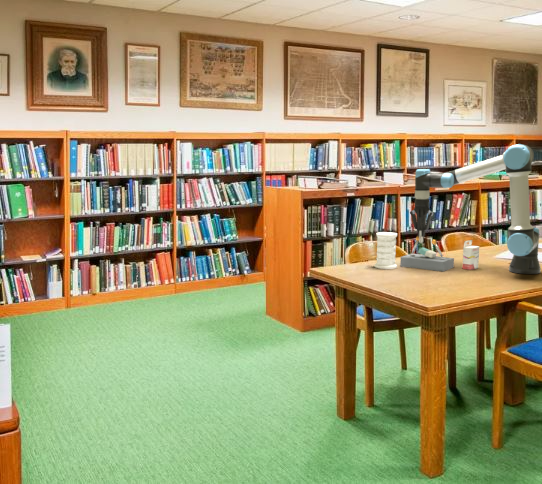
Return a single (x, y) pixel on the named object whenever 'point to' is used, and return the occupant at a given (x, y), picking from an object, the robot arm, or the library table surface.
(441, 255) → the lever near
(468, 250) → the ink cartridge box
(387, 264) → the decorative container
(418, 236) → the lever far
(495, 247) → the library table surface
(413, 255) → the console
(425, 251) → the rocker mid
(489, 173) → the robot arm
